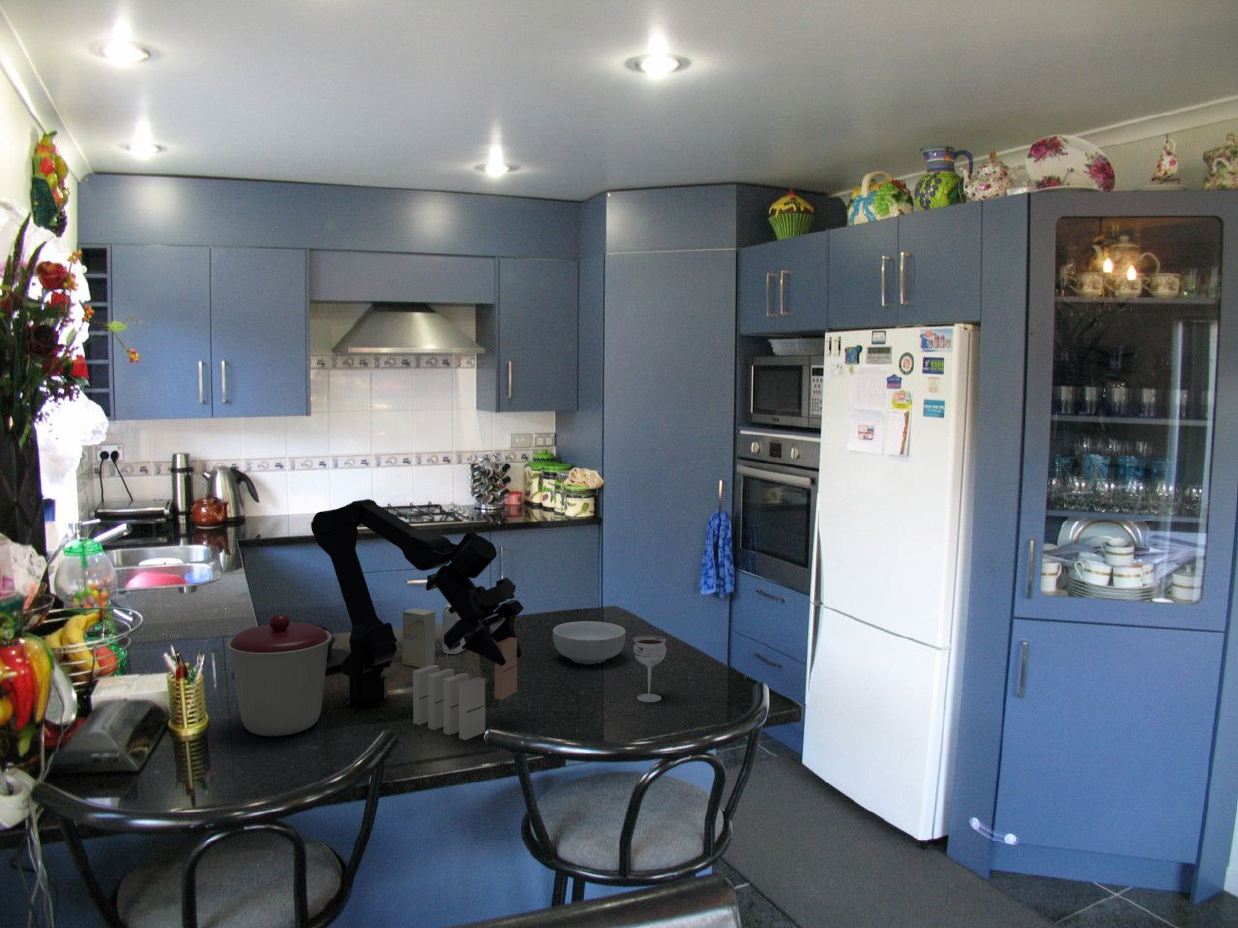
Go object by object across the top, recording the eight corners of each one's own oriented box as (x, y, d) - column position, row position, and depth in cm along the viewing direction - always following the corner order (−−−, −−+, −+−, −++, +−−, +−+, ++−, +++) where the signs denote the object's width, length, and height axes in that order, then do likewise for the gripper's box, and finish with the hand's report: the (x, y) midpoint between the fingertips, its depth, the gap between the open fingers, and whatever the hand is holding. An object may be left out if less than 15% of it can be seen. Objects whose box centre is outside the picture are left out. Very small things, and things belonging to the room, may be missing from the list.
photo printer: (456, 655, 220) (456, 603, 219) (440, 653, 222) (439, 601, 221) (477, 644, 230) (477, 594, 229) (462, 642, 232) (461, 592, 230)
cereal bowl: (624, 671, 210) (625, 639, 210) (549, 670, 211) (549, 638, 210) (625, 649, 227) (626, 620, 227) (556, 648, 228) (556, 619, 227)
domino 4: (459, 738, 171) (458, 683, 170) (478, 729, 175) (478, 676, 174) (465, 740, 170) (465, 685, 169) (485, 731, 174) (485, 678, 173)
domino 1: (413, 723, 178) (412, 670, 177) (433, 715, 182) (433, 664, 181) (419, 725, 177) (418, 672, 176) (439, 717, 181) (438, 666, 180)
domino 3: (443, 732, 173) (443, 679, 172) (463, 725, 177) (463, 672, 176) (449, 735, 172) (449, 681, 171) (469, 726, 176) (469, 674, 175)
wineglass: (637, 704, 189) (638, 645, 188) (628, 693, 195) (629, 636, 194) (670, 701, 191) (671, 643, 190) (659, 691, 197) (660, 634, 196)
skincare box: (401, 664, 214) (400, 611, 212) (414, 659, 217) (414, 607, 216) (423, 668, 211) (423, 614, 210) (436, 663, 215) (436, 610, 213)
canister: (212, 725, 175) (209, 613, 173) (305, 702, 188) (303, 597, 186) (254, 754, 162) (251, 632, 161) (351, 727, 175) (349, 615, 173)
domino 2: (428, 728, 175) (427, 674, 174) (448, 720, 179) (447, 668, 178) (434, 729, 174) (433, 676, 173) (454, 722, 178) (454, 670, 177)
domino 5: (494, 698, 171) (494, 643, 170) (509, 690, 176) (509, 636, 175) (502, 699, 171) (502, 644, 170) (517, 691, 175) (517, 638, 174)
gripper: (457, 575, 164) (511, 646, 161) (515, 557, 181) (565, 621, 177) (420, 614, 169) (472, 685, 165) (480, 593, 185) (528, 657, 182)
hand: (512, 660), depth 172 cm, fingers closed on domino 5, 5 cm apart
